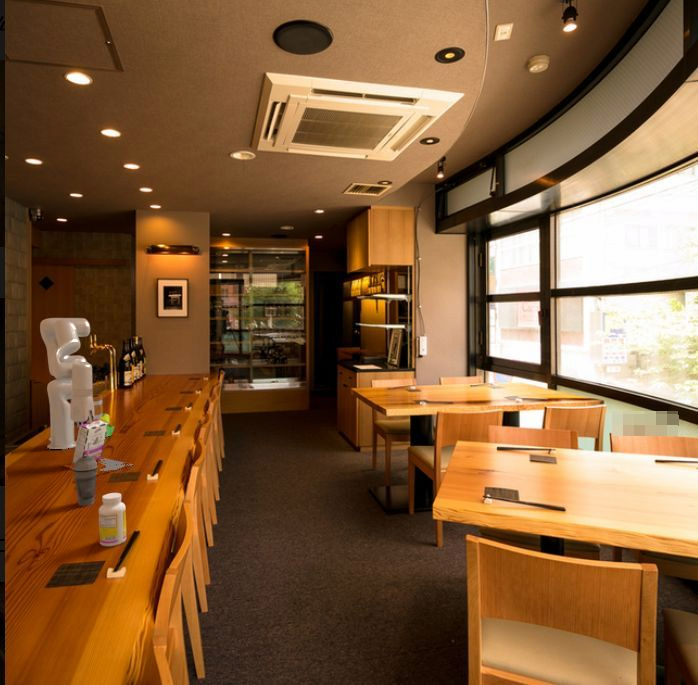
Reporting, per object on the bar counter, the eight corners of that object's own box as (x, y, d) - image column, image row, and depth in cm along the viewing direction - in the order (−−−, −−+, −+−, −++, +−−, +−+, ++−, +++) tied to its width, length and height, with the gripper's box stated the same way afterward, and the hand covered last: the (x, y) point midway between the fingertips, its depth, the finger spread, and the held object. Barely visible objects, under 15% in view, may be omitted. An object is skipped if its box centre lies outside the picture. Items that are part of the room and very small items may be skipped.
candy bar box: (91, 455, 220) (99, 419, 218) (101, 459, 219) (109, 423, 217) (71, 462, 209) (79, 424, 207) (81, 466, 208) (89, 428, 206)
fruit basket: (86, 437, 259) (85, 415, 259) (100, 433, 268) (100, 412, 267) (103, 439, 255) (102, 417, 255) (117, 435, 263) (116, 413, 263)
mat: (61, 466, 210) (61, 465, 209) (97, 457, 223) (97, 456, 223) (98, 475, 198) (98, 475, 198) (134, 465, 211) (134, 464, 211)
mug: (104, 423, 293) (103, 397, 293) (77, 425, 287) (76, 398, 286) (101, 417, 311) (101, 392, 310) (76, 419, 304) (75, 394, 303)
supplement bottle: (117, 534, 145) (116, 489, 144) (131, 540, 141) (130, 494, 141) (94, 543, 140) (93, 496, 139) (108, 549, 136) (107, 501, 135)
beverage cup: (79, 499, 172) (78, 440, 171) (102, 499, 173) (101, 440, 172) (69, 507, 165) (68, 446, 164) (93, 507, 166) (92, 445, 164)
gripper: (62, 393, 214) (64, 437, 215) (84, 395, 206) (86, 441, 207) (80, 390, 220) (81, 433, 221) (102, 393, 213) (103, 437, 214)
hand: (83, 437), depth 214 cm, fingers closed
